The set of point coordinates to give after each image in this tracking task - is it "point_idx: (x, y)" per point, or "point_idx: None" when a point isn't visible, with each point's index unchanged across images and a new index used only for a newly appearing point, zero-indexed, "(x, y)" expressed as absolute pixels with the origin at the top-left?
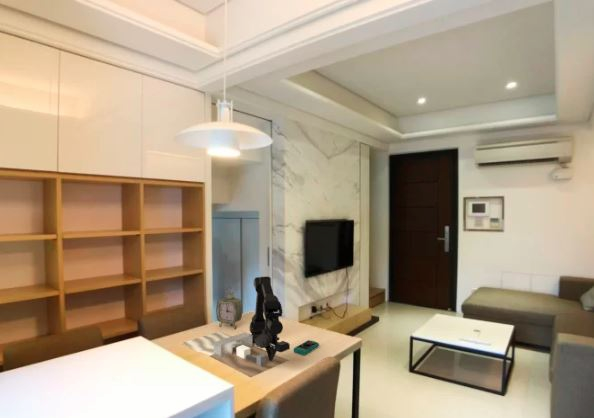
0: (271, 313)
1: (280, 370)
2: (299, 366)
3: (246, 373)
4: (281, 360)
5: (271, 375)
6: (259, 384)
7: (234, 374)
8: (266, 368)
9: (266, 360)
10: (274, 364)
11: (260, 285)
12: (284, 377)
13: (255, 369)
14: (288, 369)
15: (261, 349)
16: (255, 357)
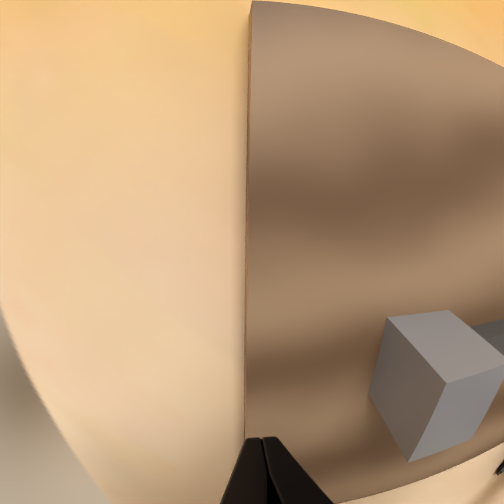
0: None
1: (173, 411)
2: (139, 500)
3: (384, 47)
4: None
5: (140, 279)
6: (81, 27)
7: (464, 24)
8: (288, 332)
9: None
10: (286, 436)
11: None
12: (31, 337)
13: (384, 209)
14: (144, 452)
15: (495, 443)
16: None
